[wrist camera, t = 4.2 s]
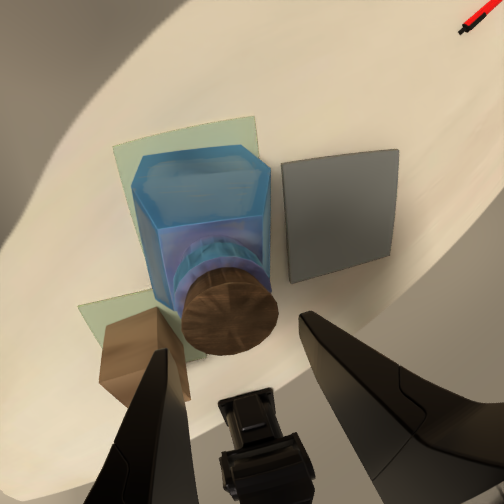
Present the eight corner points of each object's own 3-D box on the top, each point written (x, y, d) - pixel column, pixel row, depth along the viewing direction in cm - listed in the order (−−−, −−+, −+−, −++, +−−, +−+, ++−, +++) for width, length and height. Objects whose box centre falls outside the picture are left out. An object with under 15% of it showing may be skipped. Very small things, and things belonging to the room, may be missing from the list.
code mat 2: (206, 356, 28) (206, 357, 27) (119, 373, 26) (119, 374, 26) (181, 282, 23) (181, 283, 23) (77, 305, 21) (77, 307, 21)
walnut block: (183, 344, 26) (191, 399, 21) (136, 360, 26) (136, 415, 21) (156, 306, 23) (158, 364, 18) (106, 325, 23) (98, 382, 18)
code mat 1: (267, 238, 23) (268, 239, 23) (148, 266, 21) (148, 267, 21) (253, 115, 18) (254, 116, 18) (112, 146, 17) (112, 146, 16)
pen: (454, 28, 17) (463, 29, 16) (508, -17, 13) (515, -17, 12) (458, 36, 17) (467, 37, 16) (511, -11, 14) (518, -11, 13)
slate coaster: (387, 253, 27) (389, 255, 27) (289, 281, 25) (291, 283, 25) (396, 148, 22) (399, 150, 21) (280, 163, 20) (282, 164, 20)
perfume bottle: (240, 144, 19) (331, 221, 9) (243, 231, 22) (311, 361, 12) (142, 155, 17) (107, 252, 7) (156, 243, 20) (158, 391, 10)
